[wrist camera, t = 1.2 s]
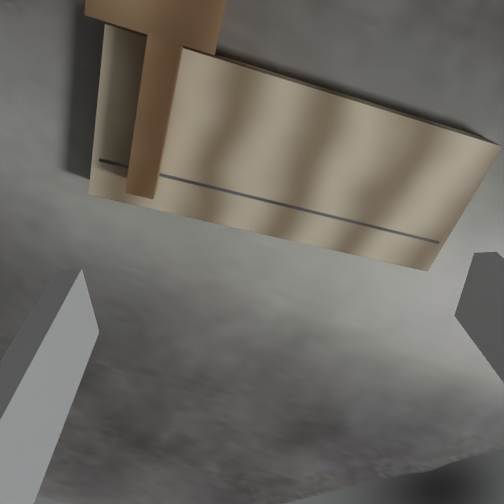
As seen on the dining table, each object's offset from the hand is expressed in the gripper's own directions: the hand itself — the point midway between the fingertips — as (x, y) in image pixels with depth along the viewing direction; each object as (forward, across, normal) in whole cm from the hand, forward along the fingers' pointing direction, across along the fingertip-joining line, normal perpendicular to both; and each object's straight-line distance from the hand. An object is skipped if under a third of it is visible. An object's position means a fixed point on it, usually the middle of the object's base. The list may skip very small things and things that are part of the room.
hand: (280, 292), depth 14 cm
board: (+21, +3, -3) cm, 22 cm away
